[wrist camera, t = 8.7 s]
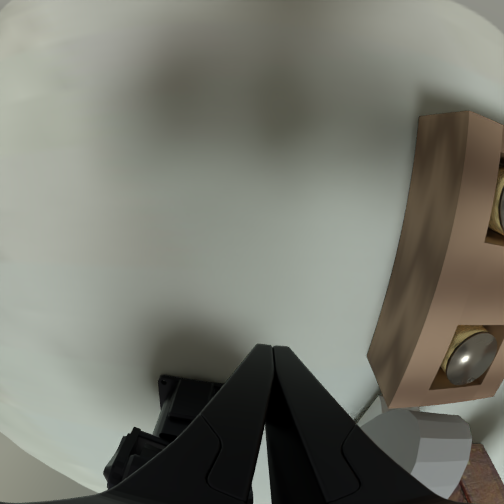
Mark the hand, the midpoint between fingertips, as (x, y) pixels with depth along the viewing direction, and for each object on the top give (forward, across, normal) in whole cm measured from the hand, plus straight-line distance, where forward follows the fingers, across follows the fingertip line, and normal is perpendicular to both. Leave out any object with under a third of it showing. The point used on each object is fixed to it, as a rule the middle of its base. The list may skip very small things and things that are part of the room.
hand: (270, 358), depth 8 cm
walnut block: (+13, -14, 0) cm, 19 cm away
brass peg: (+13, -14, +5) cm, 20 cm away
